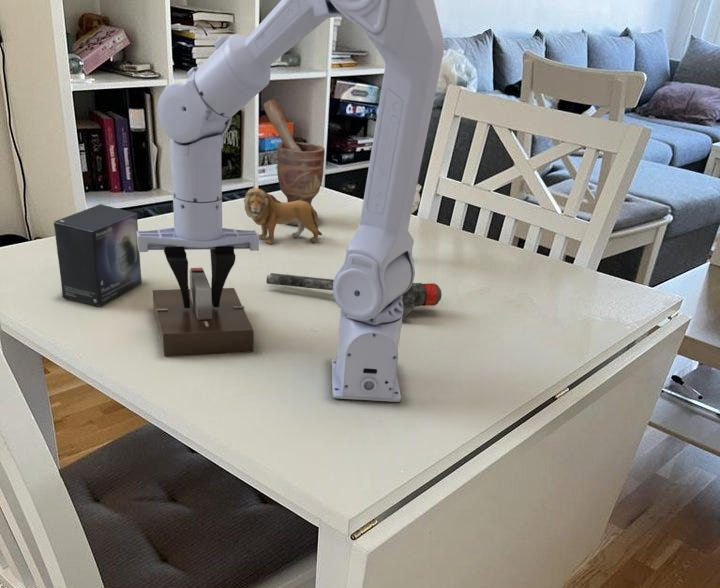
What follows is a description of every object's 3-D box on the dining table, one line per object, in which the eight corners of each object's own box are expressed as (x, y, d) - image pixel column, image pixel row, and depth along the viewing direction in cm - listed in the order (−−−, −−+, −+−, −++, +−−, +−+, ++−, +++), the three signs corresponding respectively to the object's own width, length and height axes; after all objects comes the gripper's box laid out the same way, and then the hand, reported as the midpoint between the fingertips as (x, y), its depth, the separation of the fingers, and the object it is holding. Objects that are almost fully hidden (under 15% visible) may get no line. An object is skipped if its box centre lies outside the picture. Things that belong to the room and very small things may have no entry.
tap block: (254, 351, 95) (254, 328, 94) (163, 356, 92) (161, 332, 90) (234, 308, 106) (234, 286, 104) (152, 310, 103) (151, 288, 101)
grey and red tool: (443, 303, 119) (435, 326, 106) (285, 285, 123) (258, 306, 109) (448, 262, 116) (441, 281, 103) (286, 245, 120) (258, 261, 106)
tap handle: (212, 319, 95) (211, 287, 92) (197, 320, 94) (196, 287, 92) (204, 298, 100) (203, 267, 98) (190, 298, 100) (189, 267, 97)
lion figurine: (250, 248, 127) (250, 193, 122) (238, 238, 131) (238, 184, 126) (328, 242, 133) (331, 189, 128) (315, 232, 137) (318, 181, 132)
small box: (102, 308, 102) (93, 230, 96) (60, 298, 103) (49, 221, 97) (144, 284, 110) (139, 210, 104) (106, 275, 112) (98, 202, 106)
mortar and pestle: (255, 222, 139) (256, 103, 127) (263, 209, 146) (265, 95, 134) (317, 229, 139) (324, 110, 127) (323, 216, 146) (330, 102, 134)
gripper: (251, 187, 94) (250, 291, 102) (131, 186, 90) (140, 294, 98) (263, 203, 89) (261, 312, 97) (136, 203, 85) (144, 316, 92)
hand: (200, 304), depth 97 cm, fingers open, 3 cm apart
